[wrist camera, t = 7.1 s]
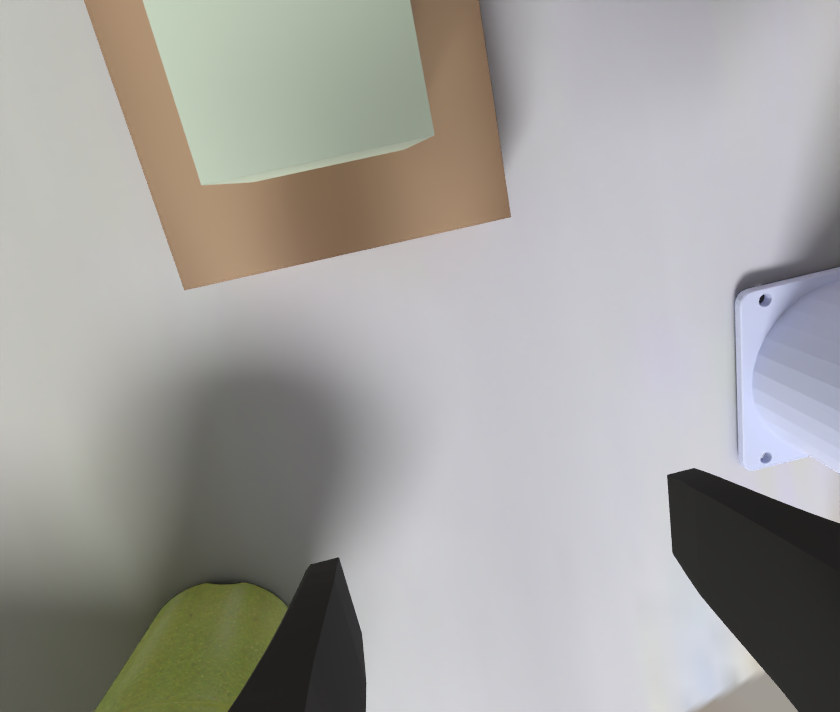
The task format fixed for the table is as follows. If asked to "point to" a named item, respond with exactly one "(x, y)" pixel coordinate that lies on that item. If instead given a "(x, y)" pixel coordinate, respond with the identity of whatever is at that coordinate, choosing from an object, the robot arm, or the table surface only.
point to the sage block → (291, 82)
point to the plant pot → (198, 651)
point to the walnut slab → (323, 187)
